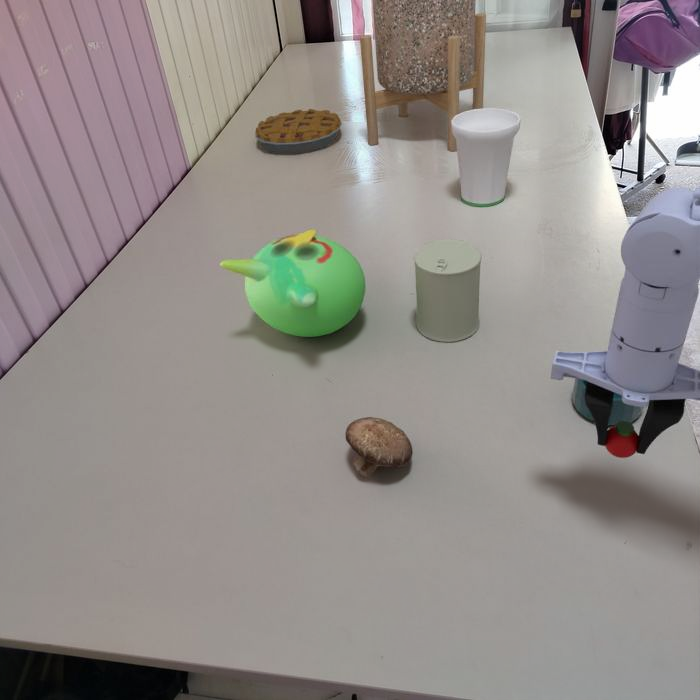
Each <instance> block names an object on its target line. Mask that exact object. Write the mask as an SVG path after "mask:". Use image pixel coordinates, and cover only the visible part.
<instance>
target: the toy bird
mask: <svg viewBox="0 0 700 700" xmlns="http://www.w3.org/2000/svg"><path fill="white" fill-rule="evenodd" d="M219 264H220V267H222V268H223V269H225V270H227V271H230V272H232V273H235V274H238V275H240V276H243V277H244V290H245V297H246V299H247V301H248V304H249V306H250V308H251V309H252V310H253V311H254V313H255V314H256V315H257V316H258V318H259V319H260V320H262V321H263V322H264V323H266V324H267V325H268V326H271V327H272V328H273V329H275V330H277V331H279V332H281V333H284V334H287V335H290V336H294V337H295V336H296V337H304V338H313V337H321V336H325V335H330V334H333V333H334V332H336V331H338V330H340V329H342V328H343V327H345V326H346V325H347V324H349V323H350V322H351V321H353V319H354V318H355V317H356V315H357V314H358V312H359V310H360V309H361V307H362V305H363V303H364V302H363V301H364V298H365V294H366V277H365V273H364V270H363V268H362V267H361V264H360V262H359V261H358V259H357V258H356V257H355V256H354V254H353V253H351V252H350V251H349V250H348V249H347V248H346V247H344V246H343V245H342V244H340V243H339V242H336V241H334V240H332V239H330V238H328V237H324V236H322V235H317V229H315V228H313V229H309V230H306V231H304V232H303V231H302V232H301V233H298V234H290V235H285V236H281V237H279V238H277V239H274V240H272V241H270V242H269V243H267V244H265V245H264V246H263V247H262V248H260V249H259V250H258V252H257V253H255V255H254V256H253V258H235V259H225V260H222V261H220V263H219Z"/></svg>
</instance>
